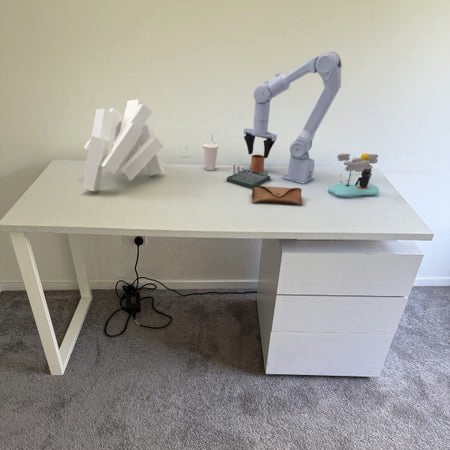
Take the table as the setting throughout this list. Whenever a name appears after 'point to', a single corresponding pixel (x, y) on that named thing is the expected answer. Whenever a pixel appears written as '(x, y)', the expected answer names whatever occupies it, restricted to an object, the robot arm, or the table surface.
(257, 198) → the sunglasses case
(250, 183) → the rack
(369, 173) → the penguin figurine
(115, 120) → the pile of blocks
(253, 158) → the cup
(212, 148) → the smoothie
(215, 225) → the table surface
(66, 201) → the table surface
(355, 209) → the table surface
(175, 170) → the table surface
